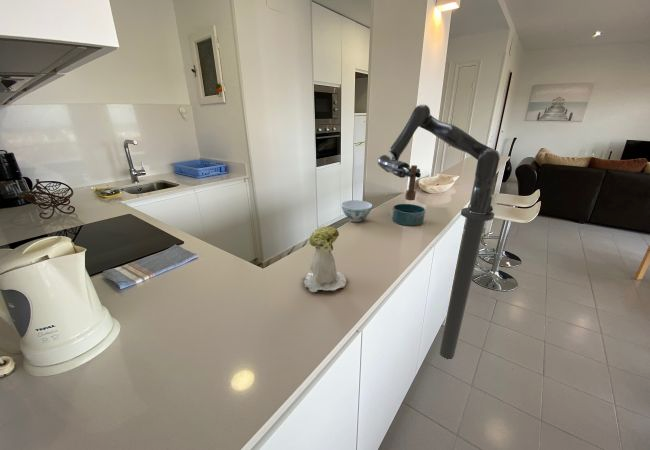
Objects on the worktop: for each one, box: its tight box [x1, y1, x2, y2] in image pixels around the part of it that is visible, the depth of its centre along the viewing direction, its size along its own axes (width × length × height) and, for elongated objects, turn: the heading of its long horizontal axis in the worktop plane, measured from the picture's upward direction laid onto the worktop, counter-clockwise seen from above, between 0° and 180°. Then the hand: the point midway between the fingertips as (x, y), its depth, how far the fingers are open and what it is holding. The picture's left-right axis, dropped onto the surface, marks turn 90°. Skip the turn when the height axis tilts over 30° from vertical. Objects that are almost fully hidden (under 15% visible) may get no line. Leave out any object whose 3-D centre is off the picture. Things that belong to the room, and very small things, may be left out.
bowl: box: [391, 203, 426, 227], centre depth 136 cm, size 15×15×6 cm
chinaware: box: [340, 199, 373, 223], centre depth 137 cm, size 15×15×8 cm
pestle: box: [404, 164, 418, 201], centre depth 131 cm, size 4×4×16 cm
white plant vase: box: [303, 226, 347, 293], centre depth 82 cm, size 12×13×18 cm
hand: (416, 175), depth 126 cm, fingers closed on pestle, 2 cm apart
